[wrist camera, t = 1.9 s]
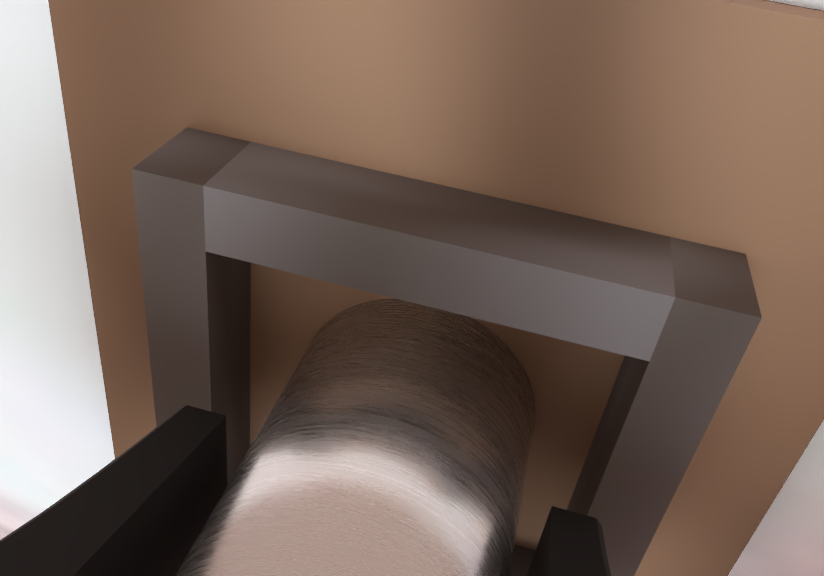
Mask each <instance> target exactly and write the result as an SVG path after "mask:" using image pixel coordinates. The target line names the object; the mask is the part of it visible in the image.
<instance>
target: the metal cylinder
mask: <svg viewBox="0 0 824 576" xmlns="http://www.w3.org/2000/svg"><path fill="white" fill-rule="evenodd" d="M534 415H535V402H534V395H533V390H532V387H531V383H530V380H529V378H528V376H527V374H526V371H525V369H524V367H523V366H522V364H521V363H520V361H519V360H518V358H517V357H516V355H515V354H514V353H513V352H512V350H511V349H510V348H509V347H508V346H507V345H506V344H505V342H503V341H502V340H501V339H500V338H499V337H498V336H497V335H496V334H495V333H493V332H492V331H491V330H489V329H488V328H487V327H485V326H484V325H482V324H481V323H480V322H478V321H476V320H474V319H472V318H471V317H468V316H464V315H460V314H456V313H452V312H448V311H444V310H440V309H436V308H432V307H428V306H424V305H420V304H416V303H412V302H408V301H404V300H400V299H395V298H390V299H379V300H373V301H368V302H364V303H361V304H357V305H354V306H352V307H350V308H348V309H345V310H343V311H342V312H340V313H338V314H337V315H335V316H334V317H332V318H331V319H330V320H329V321H328V322H327V323H325V324H324V325H323V326H322V327H321V329H320V330H319V331H318V332H317V334H316V335H315V337H314V338H313V340H312V342H311V343H310V345H309V347H308V349H307V350H306V352H305V354H304V355H303V357H302V359H301V361H300V362H299V364H298V366H297V367H296V369H295V371H294V373H293V374H292V376H291V378H290V379H289V381H288V383H287V385H286V386H285V388H284V390H283V391H282V393H281V395H280V397H279V398H278V400H277V402H276V403H275V405H274V407H273V409H272V410H271V412H270V414H269V415H268V417H267V419H266V421H265V422H264V424H263V426H262V427H261V429H260V431H259V433H258V434H257V436H256V438H255V439H254V441H253V443H252V445H251V446H250V448H249V450H248V452H247V453H246V455H245V457H244V458H243V460H242V462H241V464H240V465H239V467H238V469H237V470H236V472H235V474H234V476H233V477H232V479H231V481H230V482H229V484H228V486H227V488H226V489H225V491H224V493H223V494H222V496H221V498H220V500H219V501H218V503H217V505H216V506H215V508H214V510H213V512H212V513H211V515H210V517H209V518H208V520H207V522H206V524H205V525H204V527H203V529H202V530H201V532H200V534H199V536H198V537H197V539H196V541H195V542H194V544H193V546H192V548H191V549H190V551H189V553H188V554H187V556H186V558H185V560H184V561H183V563H182V565H181V566H180V568H179V570H178V572H177V573H176V575H175V576H510V572H511V565H512V559H513V552H514V546H515V539H516V533H517V526H518V520H519V513H520V507H521V500H522V494H523V487H524V481H525V474H526V468H527V461H528V455H529V448H530V442H531V435H532V429H533V422H534Z"/></svg>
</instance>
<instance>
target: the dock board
mask: <svg viewBox="0 0 824 576" xmlns="http://www.w3.org/2000/svg"><path fill="white" fill-rule="evenodd" d="M48 1H49V8H50V15H51V22H52V29H53V35H54V42H55V49H56V56H57V63H58V70H59V77H60V83H61V90H62V97H63V104H64V111H65V118H66V125H67V131H68V138H69V145H70V152H71V159H72V166H73V173H74V179H75V186H76V193H77V200H78V207H79V214H80V221H81V228H82V234H83V241H84V248H85V255H86V262H87V269H88V276H89V282H90V289H91V296H92V303H93V310H94V317H95V324H96V330H97V337H98V344H99V351H100V358H101V365H102V372H103V378H104V385H105V392H106V399H107V406H108V413H109V420H110V427H111V433H112V440H113V447H114V454H115V459H116V458H117V457H119V456H120V455H121V454H123V453H124V452H125V451H126V450H128V449H129V448H130V447H132V446H133V445H134V444H136V443H137V442H138V441H139V440H141V439H142V438H143V437H145V436H146V435H147V434H148V433H150V432H151V431H152V430H153V429H155V428H156V427H157V426H159V425H160V424H161V423H162V422H164V421H165V420H166V419H168V418H169V417H170V416H171V415H173V414H174V413H175V412H177V411H178V410H179V409H180V408H182V407H184V406H186V405H189V406H192V407H196V408H200V409H203V410H207V411H210V412H214V413H218V414H221V415H225V416H226V438H227V485H228V484H229V482H230V481H231V479H232V477H233V476H234V474H235V472H236V470H237V469H238V467H239V465H240V464H241V462H242V460H243V458H244V457H245V455H246V453H247V452H248V450H249V448H250V446H251V445H252V443H253V441H254V439H255V438H256V436H257V434H258V433H259V431H260V429H261V427H262V426H263V424H264V422H265V421H266V419H267V417H268V415H269V414H270V412H271V410H272V409H273V407H274V405H275V403H276V402H277V400H278V398H279V397H280V395H281V393H282V391H283V390H284V388H285V386H286V385H287V383H288V381H289V379H290V378H291V376H292V374H293V373H294V371H295V369H296V367H297V366H298V364H299V362H300V361H301V359H302V357H303V355H304V354H305V352H306V350H307V349H308V347H309V345H310V343H311V342H312V340H313V338H314V337H315V335H316V334H317V332H318V331H319V330H320V329H321V327H322V326H323V325H324V324H325V323H327V322H328V321H329V320H330V319H331V318H332V317H334V316H335V315H337V314H338V313H340V312H342V311H343V310H345V309H348V308H350V307H352V306H354V305H357V304H361V303H364V302H368V301H373V300H379V299H390V298H395V299H400V300H404V301H408V302H412V303H416V304H420V305H424V306H428V307H432V308H436V309H440V310H444V311H448V312H452V313H456V314H460V315H464V316H468V317H471V318H472V319H474V320H476V321H478V322H480V323H481V324H482V325H484V326H485V327H487V328H488V329H489V330H491V331H492V332H493V333H495V334H496V335H497V336H498V337H499V338H500V339H501V340H502V341H503V342H505V344H506V345H507V346H508V347H509V348H510V349H511V350H512V352H513V353H514V354H515V355H516V357H517V358H518V360H519V361H520V363H521V364H522V366H523V367H524V369H525V371H526V374H527V376H528V378H529V380H530V383H531V387H532V390H533V395H534V402H535V415H534V422H533V429H532V435H531V442H530V448H529V455H528V461H527V468H526V474H525V481H524V487H523V494H522V500H521V507H520V513H519V520H518V526H517V533H516V539H515V546H514V552H513V559H512V565H511V572H510V576H527V573H528V571H529V568H530V565H531V562H532V560H533V557H534V554H535V551H536V548H537V546H538V543H539V540H540V537H541V534H542V532H543V529H544V526H545V523H546V521H547V518H548V515H549V512H550V509H551V507H552V506H554V507H558V508H561V509H565V510H569V511H572V512H576V513H580V514H583V515H587V516H590V517H594V518H597V520H598V521H599V522H600V524H601V525H602V529H603V536H604V542H605V547H606V553H607V558H608V563H609V568H610V573H611V576H728V574H729V572H730V571H731V569H732V567H733V566H734V564H735V563H736V561H737V559H738V558H739V556H740V554H741V553H742V551H743V550H744V548H745V546H746V545H747V543H748V541H749V540H750V538H751V537H752V535H753V533H754V532H755V530H756V528H757V527H758V525H759V524H760V522H761V520H762V519H763V517H764V515H765V514H766V512H767V511H768V509H769V507H770V506H771V504H772V502H773V501H774V499H775V498H776V496H777V494H778V493H779V491H780V489H781V488H782V486H783V485H784V483H785V481H786V480H787V478H788V476H789V475H790V473H791V472H792V470H793V468H794V467H795V465H796V463H797V462H798V460H799V459H800V457H801V455H802V454H803V452H804V450H805V449H806V447H807V446H808V444H809V442H810V441H811V439H812V437H813V436H814V434H815V433H816V431H817V429H818V428H819V426H820V424H821V423H822V421H823V420H824V11H819V10H814V9H808V8H803V7H797V6H792V5H787V4H781V3H776V2H770V1H765V0H48Z"/></svg>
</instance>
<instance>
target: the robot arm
mask: <svg viewBox="0 0 824 576" xmlns="http://www.w3.org/2000/svg"><path fill="white" fill-rule="evenodd" d="M227 486H228V485H227V438H226V416H225V415H221V414H218V413H214V412H210V411H207V410H203V409H200V408H196V407H192V406H189V405H186V406H184V407H182V408H180V409H179V410H178V411H177V412H175V413H174V414H173V415H171V416H170V417H169V418H168V419H166V420H165V421H164V422H162V423H161V424H160V425H159V426H157V427H156V428H155V429H153V430H152V431H151V432H150V433H148V434H147V435H146V436H145V437H143V438H142V439H141V440H139V441H138V442H137V443H136V444H134V445H133V446H132V447H130V448H129V449H128V450H126V451H125V452H124V453H123V454H121V455H120V456H119V457H117V458H116V459H115V460H113V461H112V462H111V463H109V464H108V465H107V466H105V467H104V468H103V469H101V470H100V471H99V472H97V473H96V474H95V475H93V476H92V477H90V478H89V479H88V480H86V481H85V482H84V483H82V484H81V485H79V486H78V487H77V488H75V489H74V490H73V491H71V492H70V493H68V494H67V495H66V496H64V497H63V498H62V499H60V500H59V501H57V502H56V503H55V504H53V505H52V506H50V507H49V508H48V509H46V510H45V511H43V512H42V513H40V514H39V515H37V516H36V517H34V518H33V519H31V520H30V521H28V522H27V523H25V524H24V525H22V526H21V527H19V528H18V529H16V530H15V531H13V532H12V533H10V534H9V535H7V536H6V537H4V538H3V539H1V540H0V576H175V575H176V573H177V572H178V570H179V568H180V566H181V565H182V563H183V561H184V560H185V558H186V556H187V554H188V553H189V551H190V549H191V548H192V546H193V544H194V542H195V541H196V539H197V537H198V536H199V534H200V532H201V530H202V529H203V527H204V525H205V524H206V522H207V520H208V518H209V517H210V515H211V513H212V512H213V510H214V508H215V506H216V505H217V503H218V501H219V500H220V498H221V496H222V494H223V493H224V491H225V489H226V488H227ZM527 576H611V573H610V568H609V563H608V558H607V553H606V547H605V542H604V536H603V529H602V525H601V524H600V522H599V521H598V520H597V518H594V517H590V516H587V515H583V514H580V513H576V512H572V511H569V510H565V509H561V508H558V507H554V506H552V507H551V509H550V512H549V515H548V518H547V521H546V523H545V526H544V529H543V532H542V534H541V537H540V540H539V543H538V546H537V548H536V551H535V554H534V557H533V560H532V562H531V565H530V568H529V571H528V573H527Z"/></svg>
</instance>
